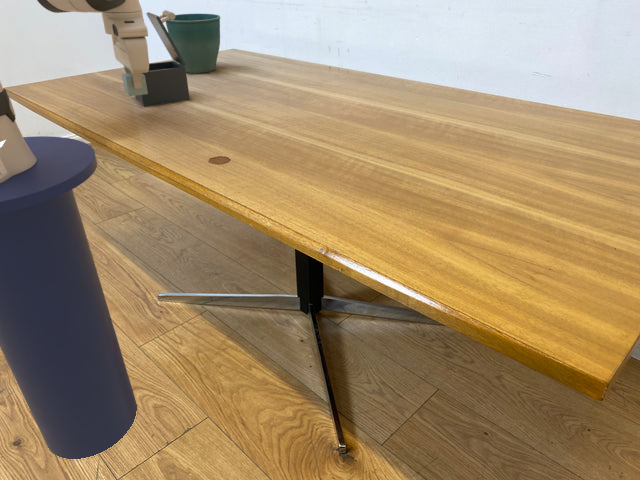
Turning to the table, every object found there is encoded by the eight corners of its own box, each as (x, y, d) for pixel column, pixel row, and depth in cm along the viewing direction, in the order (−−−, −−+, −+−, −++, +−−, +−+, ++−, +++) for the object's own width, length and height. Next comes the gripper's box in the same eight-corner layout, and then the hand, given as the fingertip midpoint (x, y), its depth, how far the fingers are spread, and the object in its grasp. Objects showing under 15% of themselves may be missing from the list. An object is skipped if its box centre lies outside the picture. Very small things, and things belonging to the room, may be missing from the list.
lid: (156, 17, 122) (173, 7, 123) (145, 13, 129) (162, 4, 130) (183, 66, 130) (199, 56, 131) (172, 59, 138) (187, 50, 139)
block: (129, 96, 118) (125, 77, 115) (125, 92, 121) (121, 73, 119) (147, 94, 120) (144, 75, 117) (143, 90, 123) (140, 71, 121)
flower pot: (227, 74, 162) (221, 19, 154) (171, 77, 159) (162, 21, 150) (224, 63, 177) (218, 12, 169) (173, 66, 174) (165, 14, 165)
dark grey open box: (144, 106, 130) (137, 72, 125) (135, 97, 137) (128, 65, 133) (190, 100, 135) (185, 67, 130) (179, 91, 143) (174, 60, 138)
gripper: (101, 20, 118) (113, 78, 125) (119, 30, 103) (131, 96, 110) (128, 19, 121) (137, 76, 128) (149, 29, 106) (159, 92, 113)
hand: (135, 85), depth 119 cm, fingers closed on block, 4 cm apart
